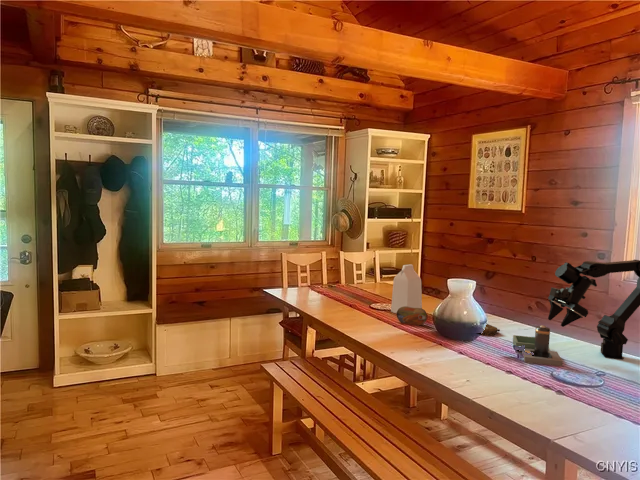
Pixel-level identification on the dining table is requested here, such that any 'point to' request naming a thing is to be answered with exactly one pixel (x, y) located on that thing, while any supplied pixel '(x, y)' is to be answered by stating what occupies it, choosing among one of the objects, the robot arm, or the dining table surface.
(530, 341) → the cup
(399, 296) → the milk
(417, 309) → the tin
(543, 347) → the battery cell
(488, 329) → the decorative rock
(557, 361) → the tester cradle
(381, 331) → the dining table surface
